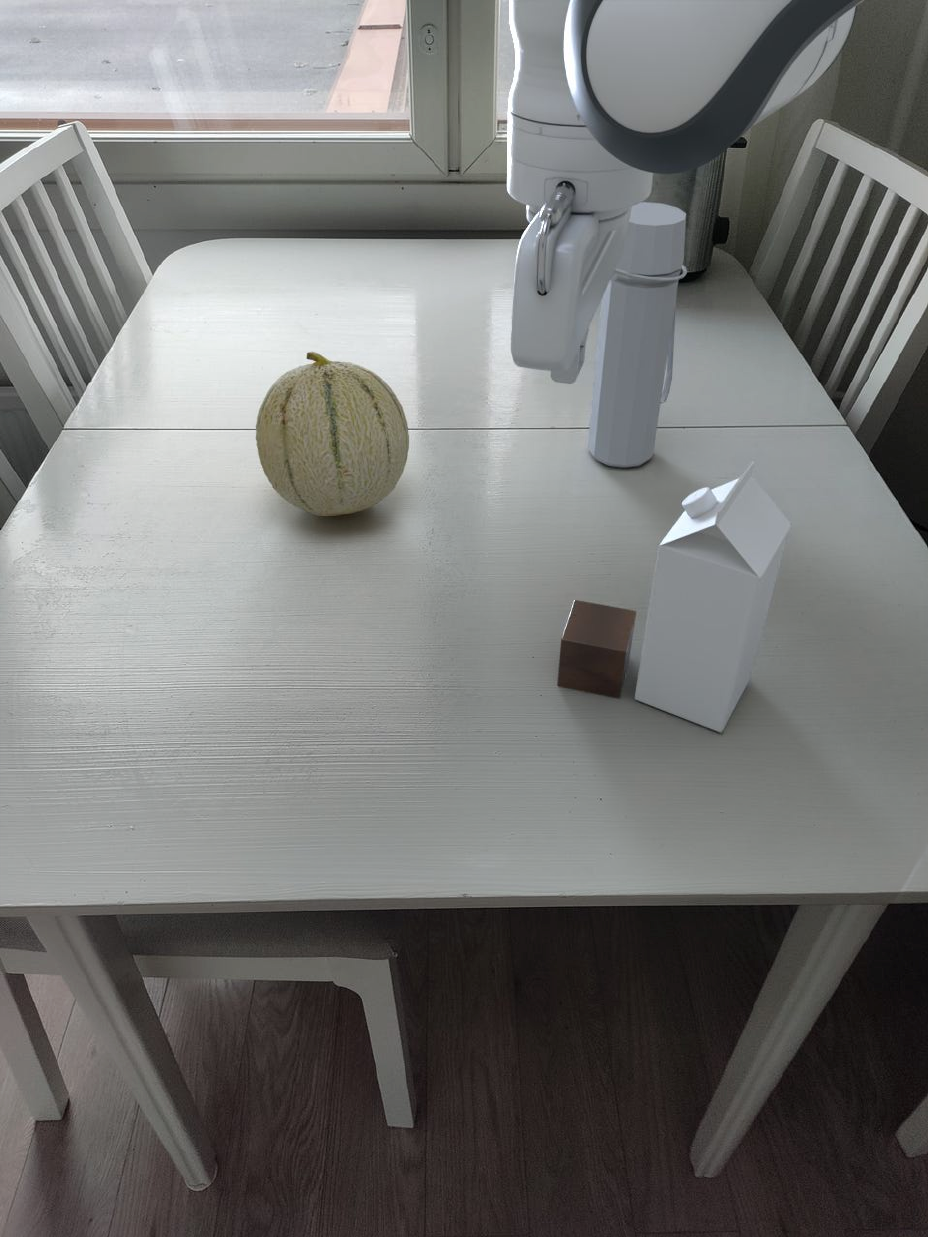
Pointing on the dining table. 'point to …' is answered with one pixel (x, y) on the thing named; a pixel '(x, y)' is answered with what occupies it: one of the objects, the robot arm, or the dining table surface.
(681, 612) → the milk carton
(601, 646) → the walnut block
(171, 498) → the dining table surface
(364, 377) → the cantaloupe
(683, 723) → the dining table surface
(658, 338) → the water bottle
